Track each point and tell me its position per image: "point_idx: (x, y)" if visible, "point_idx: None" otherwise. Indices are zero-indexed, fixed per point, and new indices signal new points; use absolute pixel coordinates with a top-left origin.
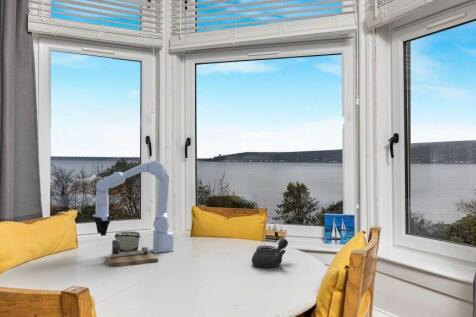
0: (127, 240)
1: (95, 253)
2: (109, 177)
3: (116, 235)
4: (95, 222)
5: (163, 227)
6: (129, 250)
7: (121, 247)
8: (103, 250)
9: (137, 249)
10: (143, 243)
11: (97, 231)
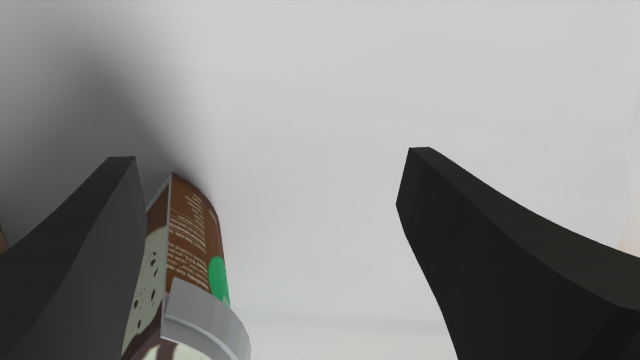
0: None
1: (337, 6)
2: None
3: (159, 318)
4: (590, 247)
5: None
6: None
7: (145, 247)
8: (421, 101)
9: None
10: (450, 339)
11: (437, 155)
